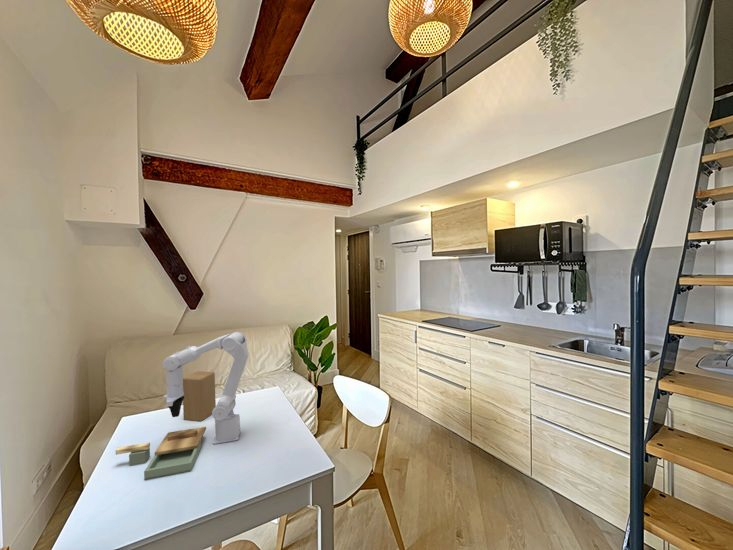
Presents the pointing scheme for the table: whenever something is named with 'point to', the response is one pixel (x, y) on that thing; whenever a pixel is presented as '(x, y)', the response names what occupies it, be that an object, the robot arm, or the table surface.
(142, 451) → the block
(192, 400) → the wooden block
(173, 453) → the green piece
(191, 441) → the lid
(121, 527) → the table surface
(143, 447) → the light wooden bar
